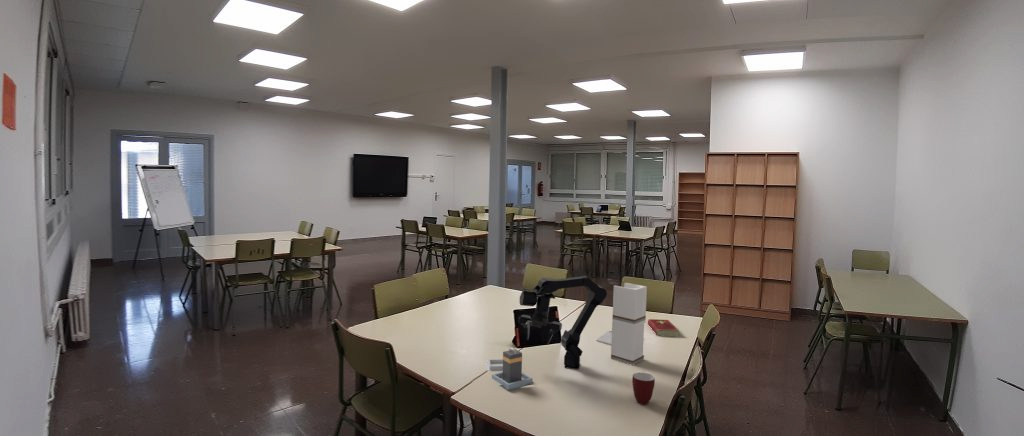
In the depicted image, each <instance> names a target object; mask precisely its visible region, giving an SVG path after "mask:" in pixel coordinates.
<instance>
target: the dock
mask: <svg viewBox="0 0 1024 436" xmlns="http://www.w3.org/2000/svg"><path fill="white" fill-rule="evenodd" d="M484 363H485V365H484V366H485V369H486V371H487V372H490V371H492V372H493V371H503V358H494V359H493V358H490V359H487V361H485V362H484Z"/></svg>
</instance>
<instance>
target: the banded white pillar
mask: <svg viewBox="0 0 1024 436" xmlns="http://www.w3.org/2000/svg"><path fill="white" fill-rule="evenodd" d="M623 284H624V285H623V286H619V285H613V293H612V294H613V295H612V296H613V299H612V318H611V319H612V323H611V324H612V325H611V331H612V343H611V345H610V359H611V360H614V361H617V360H618V362H620V361H621V363H623V362H625V363H624V364H627V363H628V364H627V365H630V364H631V365H630V366H634V365H636V364H638V363H640V362H641V360H642V361H643V359H645V355H644V337H645V336H644V335H645V323H646V319H647V318H646V317H647V316H646V315H647V314H646V313H647V296H648V295H647V293H648V292H647V291H648V286H646V285H645V286H644V285H641V284H636V283H635V284H634V283H630V282H624V283H623ZM639 361H640V362H639ZM637 362H638V363H637ZM635 363H636V364H635ZM633 364H634V365H633Z"/></svg>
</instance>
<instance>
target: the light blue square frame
mask: <svg viewBox="0 0 1024 436" xmlns="http://www.w3.org/2000/svg"><path fill="white" fill-rule="evenodd" d="M502 378H503V371H500V372H495V373H493V374H491V379H492V380H494V381H496V382H497V383H498V384H499V386H500V387H502V388H503V389H505V390H506V391H508V392H509V391H512V390H516V389H517V390H518V389H521V388H525V387H528V386H530V385H532V384H531V383H533V377H532V376H530V375H528V374H526V373H524V372H522V377H521V378H522V379H521V380H520V381H517V382H513V383H507V382H506V381H504V380H502Z"/></svg>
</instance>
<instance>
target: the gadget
mask: <svg viewBox="0 0 1024 436" xmlns="http://www.w3.org/2000/svg"><path fill="white" fill-rule="evenodd" d="M595 341H596V342H597V343H602V344H604V345H609V346H611V343H612V330H608V331H606V332H605V333H604V334H603V335H600V337H598V338H597V339H596V340H595Z"/></svg>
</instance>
